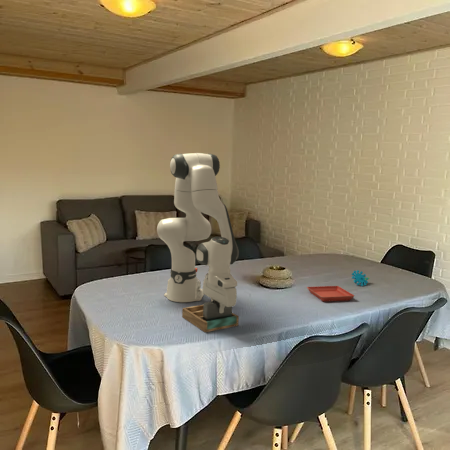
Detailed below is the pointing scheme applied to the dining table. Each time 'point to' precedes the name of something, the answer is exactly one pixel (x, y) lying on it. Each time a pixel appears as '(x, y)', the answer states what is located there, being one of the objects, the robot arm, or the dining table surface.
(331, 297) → the plant saucer
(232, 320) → the rack
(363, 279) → the gear
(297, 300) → the dining table surface
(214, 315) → the panel
